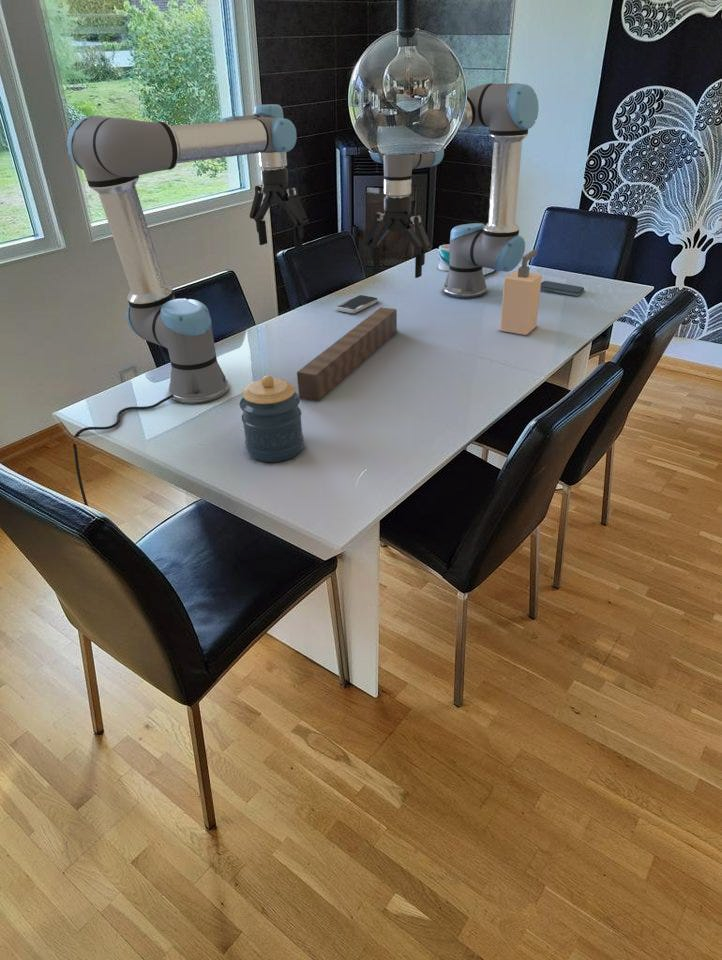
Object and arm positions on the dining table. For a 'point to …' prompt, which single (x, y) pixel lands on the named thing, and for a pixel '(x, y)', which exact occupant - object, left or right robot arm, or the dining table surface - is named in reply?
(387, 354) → the dining table surface
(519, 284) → the soap dispenser
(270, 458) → the canister
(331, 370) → the post
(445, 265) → the mug
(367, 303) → the smartphone
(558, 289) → the smartphone
